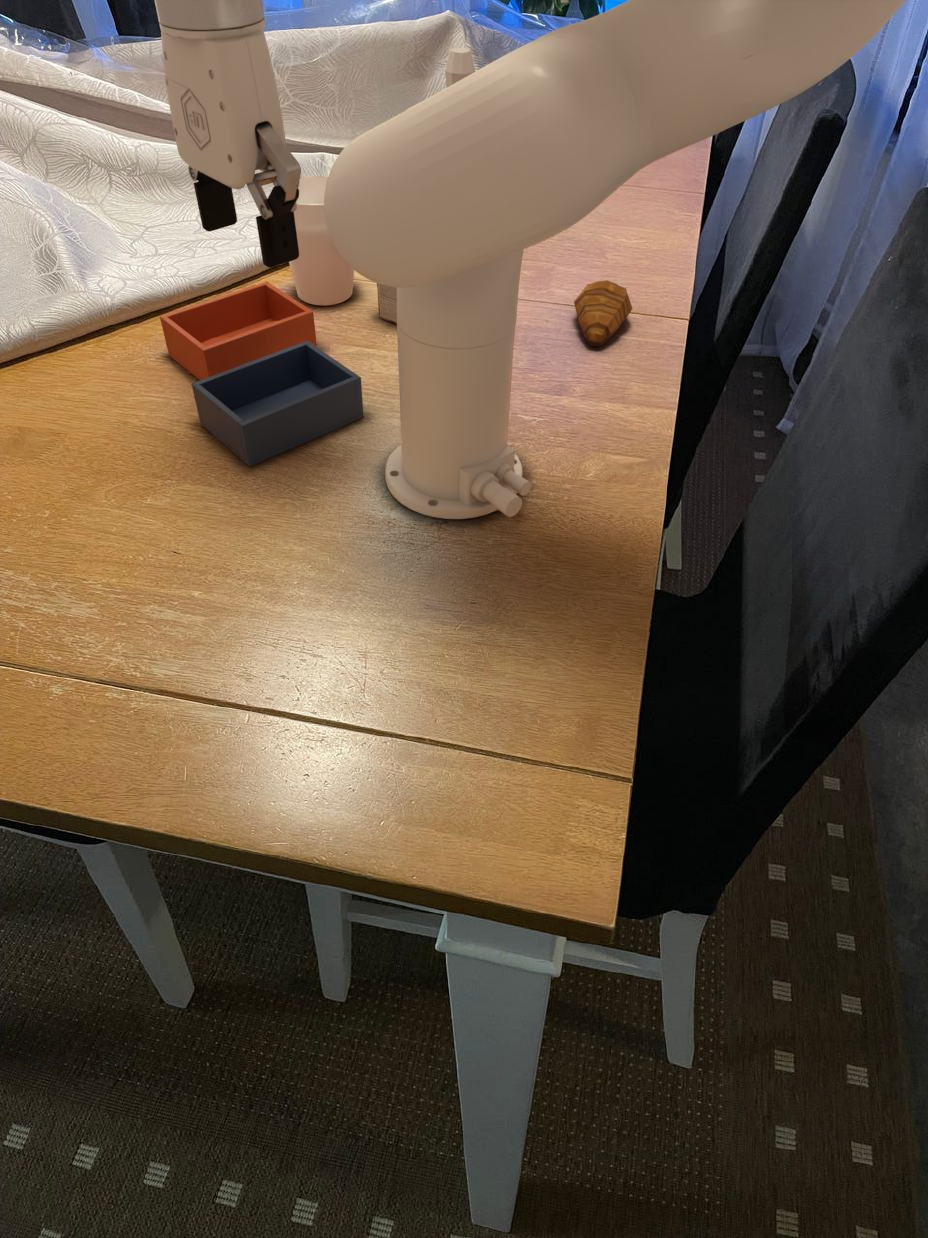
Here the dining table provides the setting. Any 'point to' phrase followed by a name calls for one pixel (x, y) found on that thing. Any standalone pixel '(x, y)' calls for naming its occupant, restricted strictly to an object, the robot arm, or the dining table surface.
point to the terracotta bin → (236, 329)
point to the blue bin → (267, 384)
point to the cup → (317, 250)
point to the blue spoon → (280, 401)
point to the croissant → (602, 310)
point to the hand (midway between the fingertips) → (250, 243)
